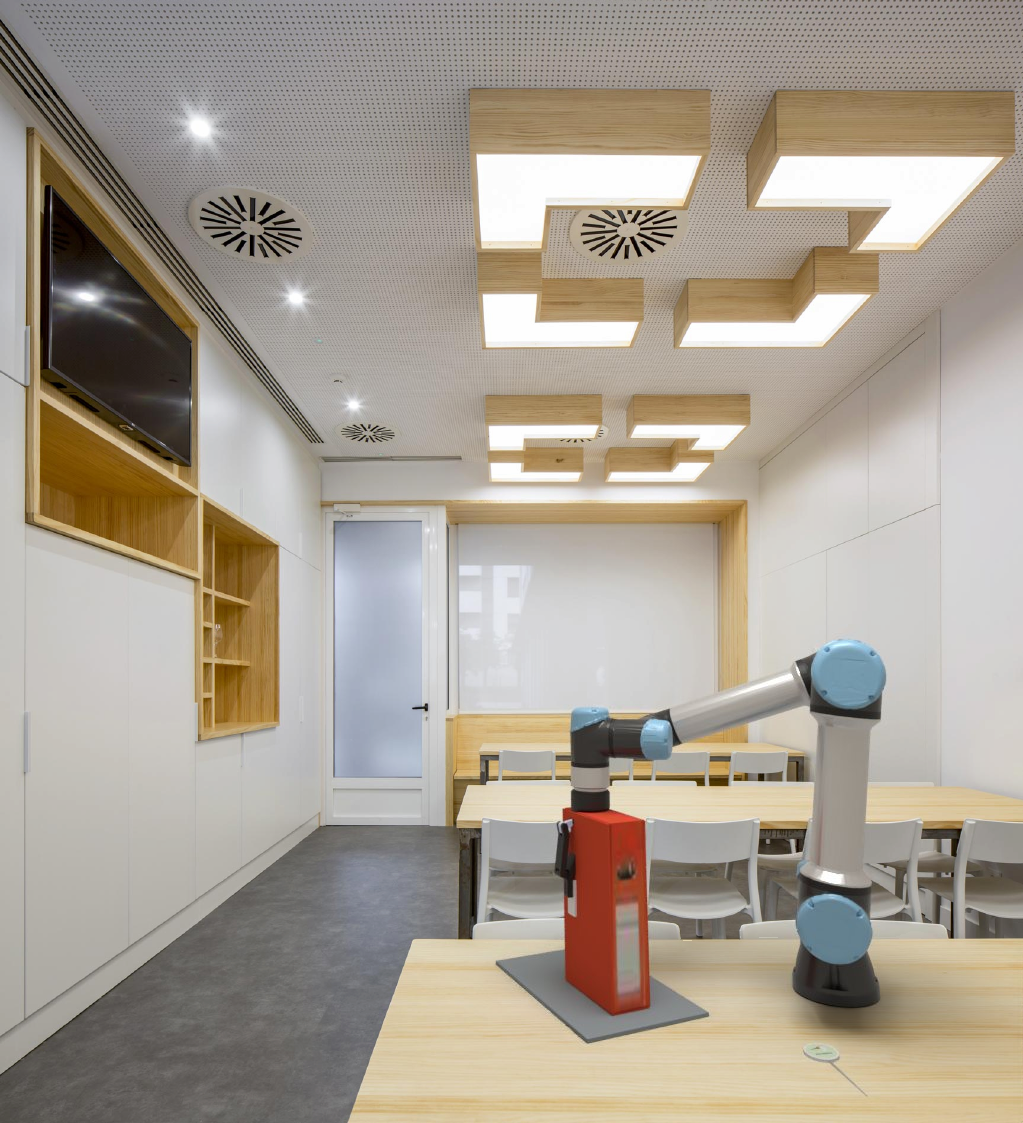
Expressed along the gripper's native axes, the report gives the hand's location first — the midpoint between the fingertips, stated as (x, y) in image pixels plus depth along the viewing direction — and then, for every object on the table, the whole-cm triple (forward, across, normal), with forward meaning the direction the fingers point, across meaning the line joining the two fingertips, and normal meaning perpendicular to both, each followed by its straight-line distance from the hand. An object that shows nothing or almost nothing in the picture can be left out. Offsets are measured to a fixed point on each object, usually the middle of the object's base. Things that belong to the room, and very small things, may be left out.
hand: (591, 911), depth 154 cm
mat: (+14, 0, 0) cm, 14 cm away
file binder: (+13, 0, +5) cm, 14 cm away
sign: (+14, -18, +42) cm, 48 cm away
